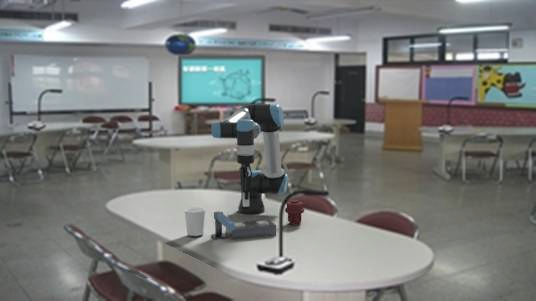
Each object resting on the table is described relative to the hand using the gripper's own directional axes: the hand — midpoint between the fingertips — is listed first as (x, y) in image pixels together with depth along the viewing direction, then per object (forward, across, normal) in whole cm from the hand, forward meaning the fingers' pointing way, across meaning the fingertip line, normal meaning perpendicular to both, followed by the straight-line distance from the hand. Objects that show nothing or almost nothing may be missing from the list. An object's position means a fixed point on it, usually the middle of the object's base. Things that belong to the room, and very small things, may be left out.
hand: (246, 206), depth 244 cm
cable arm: (+9, -6, -9) cm, 14 cm away
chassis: (+18, -16, +7) cm, 25 cm away
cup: (+18, -22, -19) cm, 34 cm away
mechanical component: (+18, -27, +34) cm, 47 cm away
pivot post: (+18, -16, -9) cm, 26 cm away
